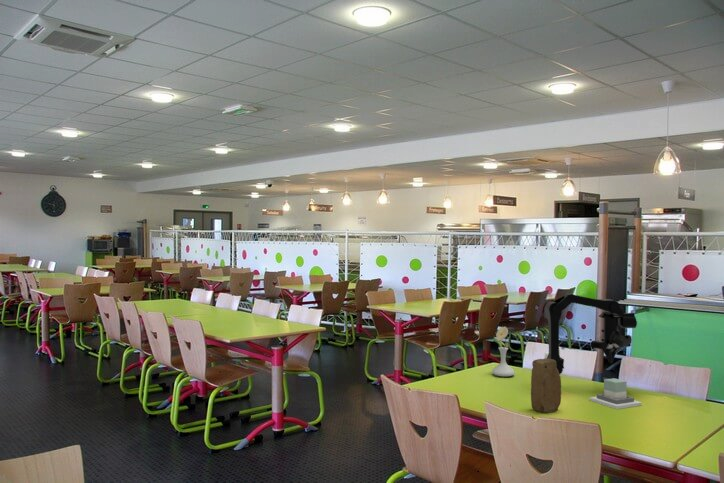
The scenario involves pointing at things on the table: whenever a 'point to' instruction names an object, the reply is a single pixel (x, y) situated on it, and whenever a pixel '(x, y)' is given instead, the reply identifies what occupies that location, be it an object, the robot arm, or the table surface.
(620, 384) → the grey green box
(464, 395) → the table surface
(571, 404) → the table surface
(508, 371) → the flower in vase
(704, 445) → the table surface
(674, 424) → the table surface
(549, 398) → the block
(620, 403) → the socket plate
